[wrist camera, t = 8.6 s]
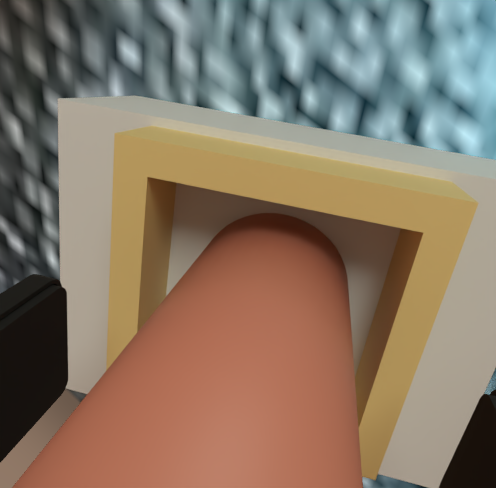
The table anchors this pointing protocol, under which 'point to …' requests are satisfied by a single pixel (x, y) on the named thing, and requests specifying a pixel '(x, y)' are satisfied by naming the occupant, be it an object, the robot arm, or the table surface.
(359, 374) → the white and yellow block
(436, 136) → the table surface
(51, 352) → the robot arm
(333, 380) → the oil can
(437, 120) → the table surface
